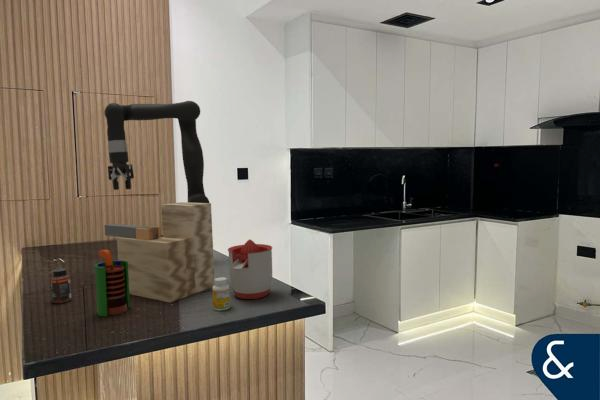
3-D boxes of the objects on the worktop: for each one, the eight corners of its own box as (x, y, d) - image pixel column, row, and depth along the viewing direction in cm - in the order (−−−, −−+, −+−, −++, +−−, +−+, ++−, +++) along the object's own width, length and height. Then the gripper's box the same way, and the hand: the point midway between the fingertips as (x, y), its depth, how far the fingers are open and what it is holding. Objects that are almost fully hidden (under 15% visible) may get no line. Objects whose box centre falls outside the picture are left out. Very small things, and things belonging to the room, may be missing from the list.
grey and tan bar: (116, 233, 176) (115, 223, 176) (160, 237, 162) (160, 226, 162) (102, 235, 171) (102, 225, 171) (147, 240, 157) (146, 229, 157)
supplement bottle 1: (75, 299, 159) (73, 268, 158) (61, 304, 153) (59, 272, 152) (62, 298, 161) (60, 267, 160) (48, 303, 155) (46, 271, 154)
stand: (166, 278, 185) (162, 201, 182) (214, 286, 170) (210, 203, 168) (120, 292, 166) (114, 207, 164) (169, 302, 152) (164, 209, 149)
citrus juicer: (218, 301, 152) (215, 243, 150) (243, 287, 168) (241, 235, 166) (259, 305, 146) (256, 245, 144) (281, 290, 162) (279, 236, 161)
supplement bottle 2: (214, 305, 147) (212, 277, 146) (230, 305, 148) (229, 276, 147) (212, 311, 142) (211, 281, 141) (229, 310, 142) (228, 280, 141)
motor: (115, 317, 139) (111, 254, 137) (90, 315, 141) (85, 253, 139) (134, 306, 149) (130, 247, 147) (110, 305, 151) (106, 247, 149)
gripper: (136, 150, 188) (140, 188, 189) (116, 152, 196) (120, 189, 197) (120, 150, 182) (124, 190, 183) (100, 152, 190) (104, 190, 191)
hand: (122, 189), depth 190 cm, fingers open, 8 cm apart
